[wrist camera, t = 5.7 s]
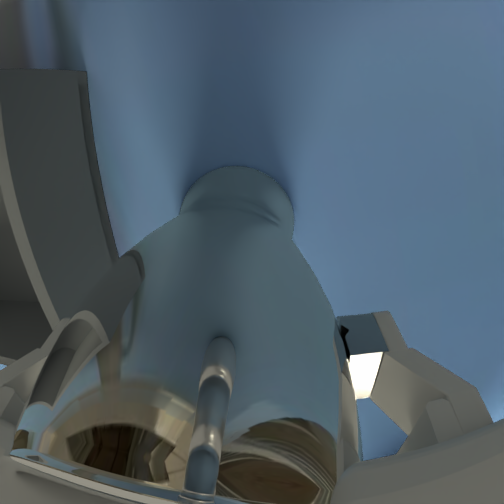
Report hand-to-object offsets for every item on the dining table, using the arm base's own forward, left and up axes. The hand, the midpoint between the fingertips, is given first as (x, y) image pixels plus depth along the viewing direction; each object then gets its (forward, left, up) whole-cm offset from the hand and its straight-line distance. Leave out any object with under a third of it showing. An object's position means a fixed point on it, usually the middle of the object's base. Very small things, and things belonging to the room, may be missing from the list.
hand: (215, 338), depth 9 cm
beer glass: (0, 0, -9) cm, 9 cm away
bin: (+15, -2, -9) cm, 18 cm away
